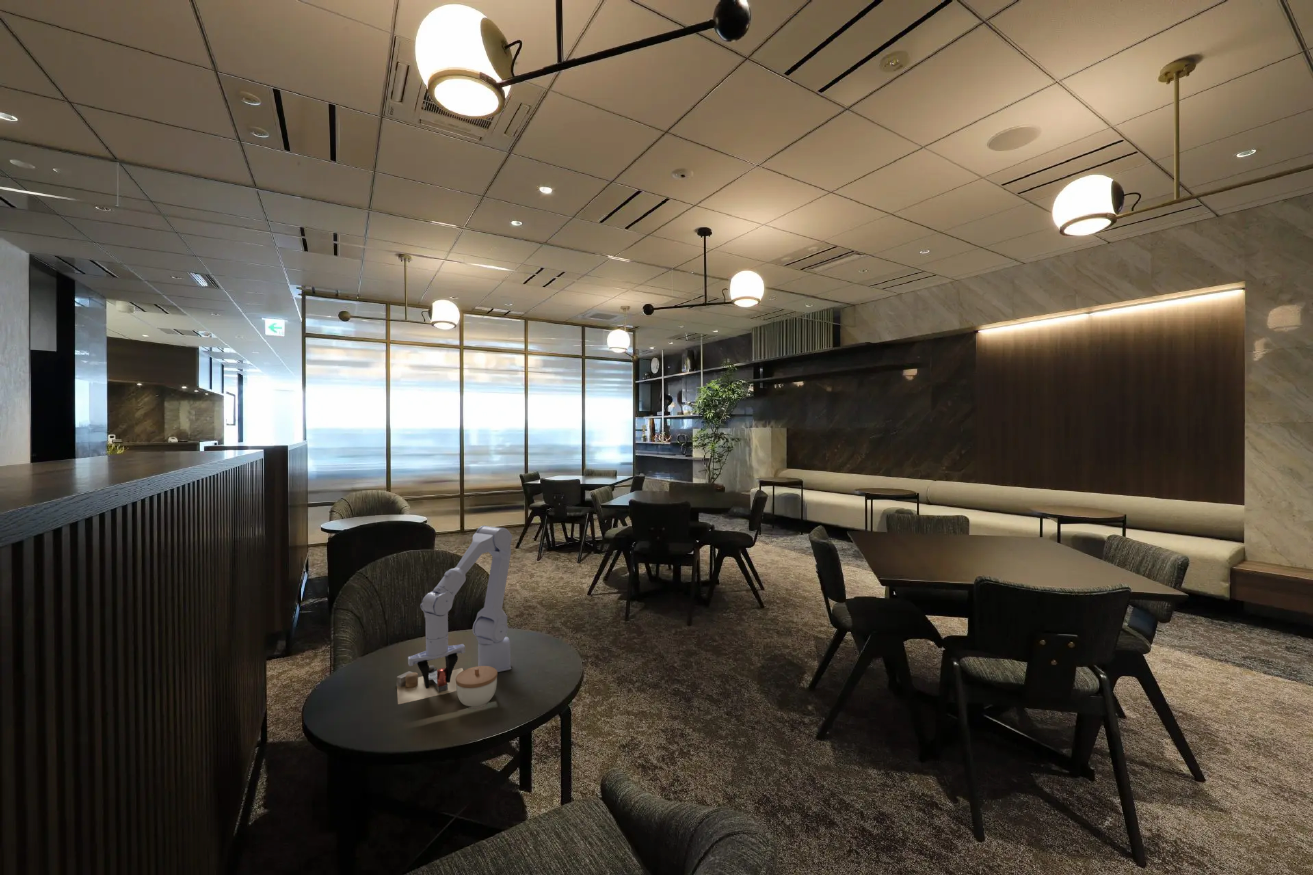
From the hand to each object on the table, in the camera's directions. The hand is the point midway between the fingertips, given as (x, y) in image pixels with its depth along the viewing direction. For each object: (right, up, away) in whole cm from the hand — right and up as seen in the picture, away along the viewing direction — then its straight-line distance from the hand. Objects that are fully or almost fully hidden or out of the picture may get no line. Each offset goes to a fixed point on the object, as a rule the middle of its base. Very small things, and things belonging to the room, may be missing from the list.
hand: (437, 683), depth 142 cm
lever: (-3, -2, +5) cm, 6 cm away
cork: (-9, -2, +4) cm, 10 cm away
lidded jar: (+12, -4, -4) cm, 13 cm away
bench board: (-3, -3, +4) cm, 6 cm away
